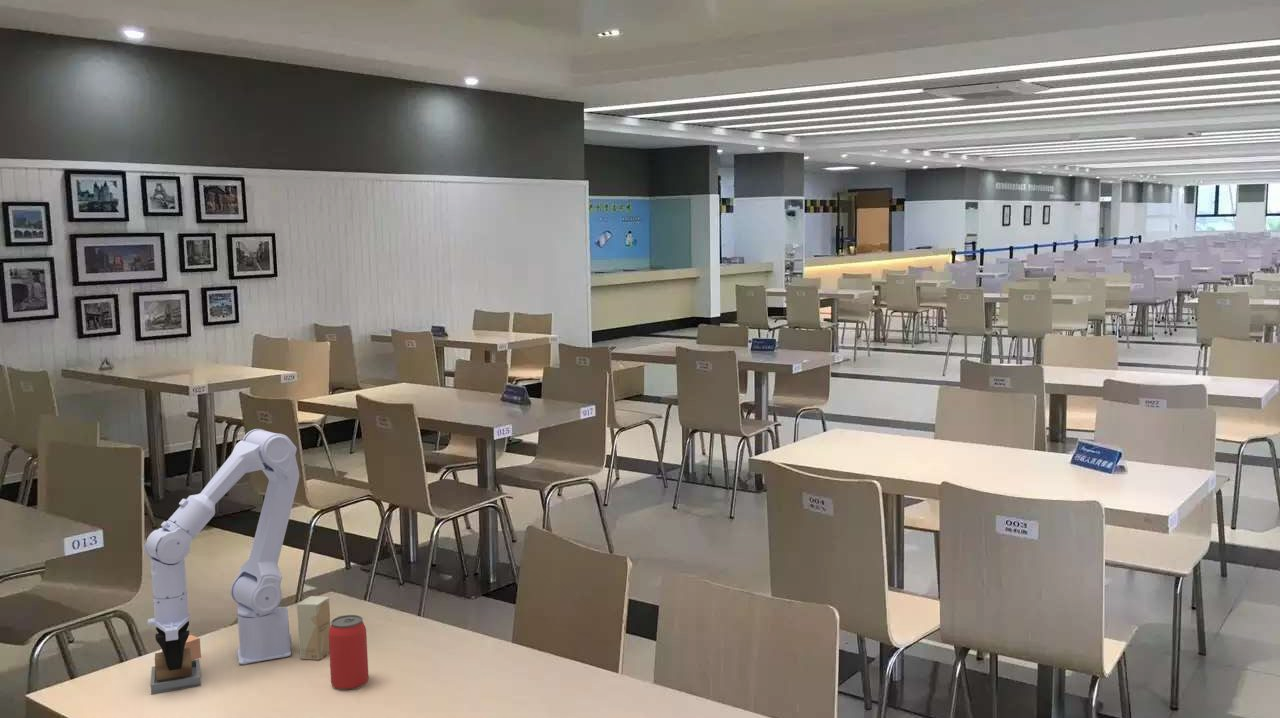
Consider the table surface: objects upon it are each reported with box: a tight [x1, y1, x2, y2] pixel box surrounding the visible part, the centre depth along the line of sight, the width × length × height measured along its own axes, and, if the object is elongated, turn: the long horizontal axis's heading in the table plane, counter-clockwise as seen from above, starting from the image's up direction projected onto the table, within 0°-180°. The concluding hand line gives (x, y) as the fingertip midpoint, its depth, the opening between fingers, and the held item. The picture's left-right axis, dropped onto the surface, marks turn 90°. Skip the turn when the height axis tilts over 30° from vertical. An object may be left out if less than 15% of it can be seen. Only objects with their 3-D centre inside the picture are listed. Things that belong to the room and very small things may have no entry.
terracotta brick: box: [161, 634, 202, 660], centre depth 201 cm, size 6×3×4 cm, turn 144°
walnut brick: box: [154, 648, 192, 680], centre depth 191 cm, size 6×3×4 cm, turn 114°
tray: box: [150, 658, 201, 695], centre depth 191 cm, size 8×9×2 cm
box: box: [296, 595, 331, 661], centre depth 202 cm, size 5×4×11 cm
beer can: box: [328, 614, 370, 691], centre depth 188 cm, size 7×7×12 cm
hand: (175, 665), depth 191 cm, fingers closed on walnut brick, 3 cm apart
